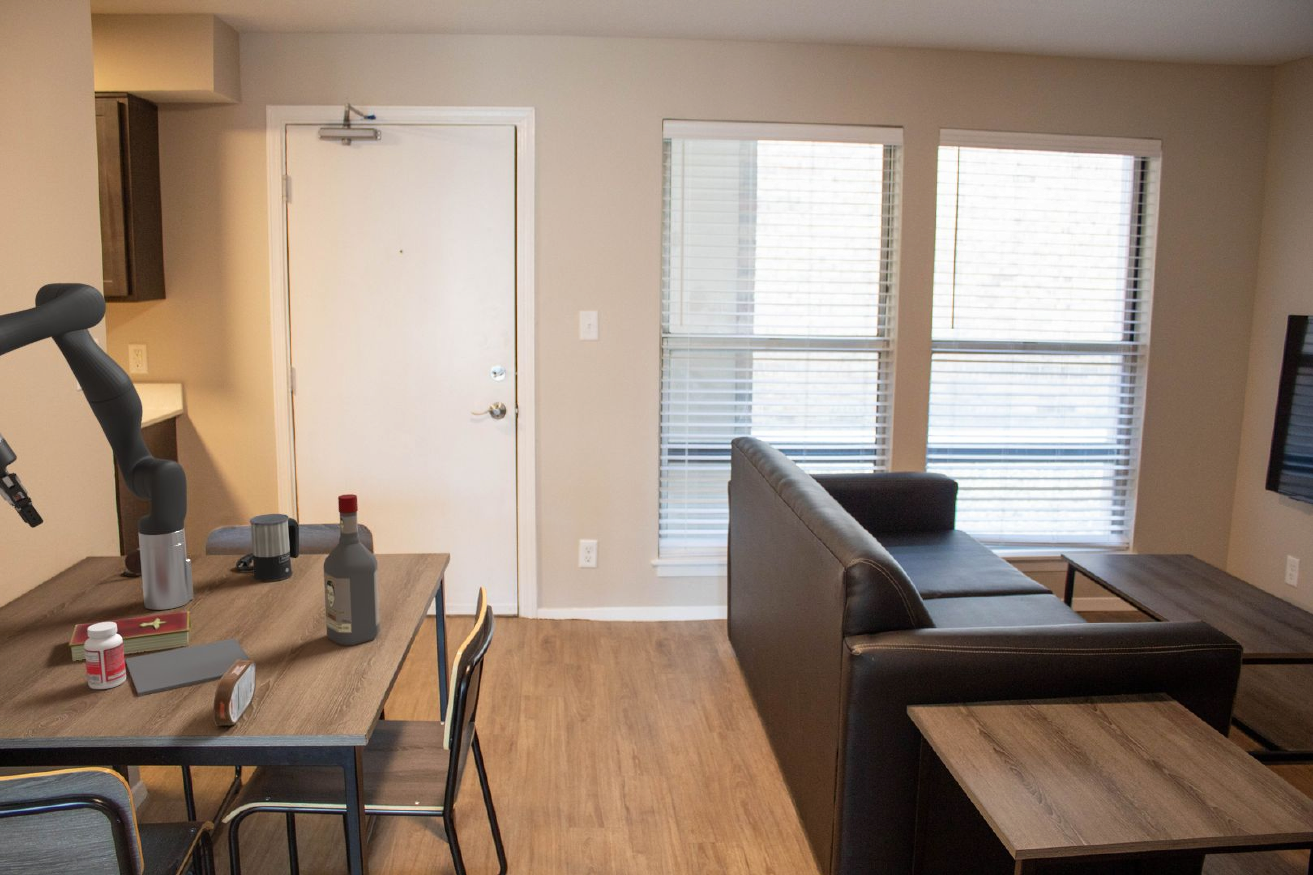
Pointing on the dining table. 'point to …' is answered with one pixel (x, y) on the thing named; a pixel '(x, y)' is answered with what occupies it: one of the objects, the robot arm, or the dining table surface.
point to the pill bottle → (104, 656)
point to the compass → (132, 564)
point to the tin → (234, 692)
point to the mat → (183, 666)
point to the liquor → (351, 583)
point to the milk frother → (271, 547)
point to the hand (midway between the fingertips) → (34, 522)
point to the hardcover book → (140, 633)
